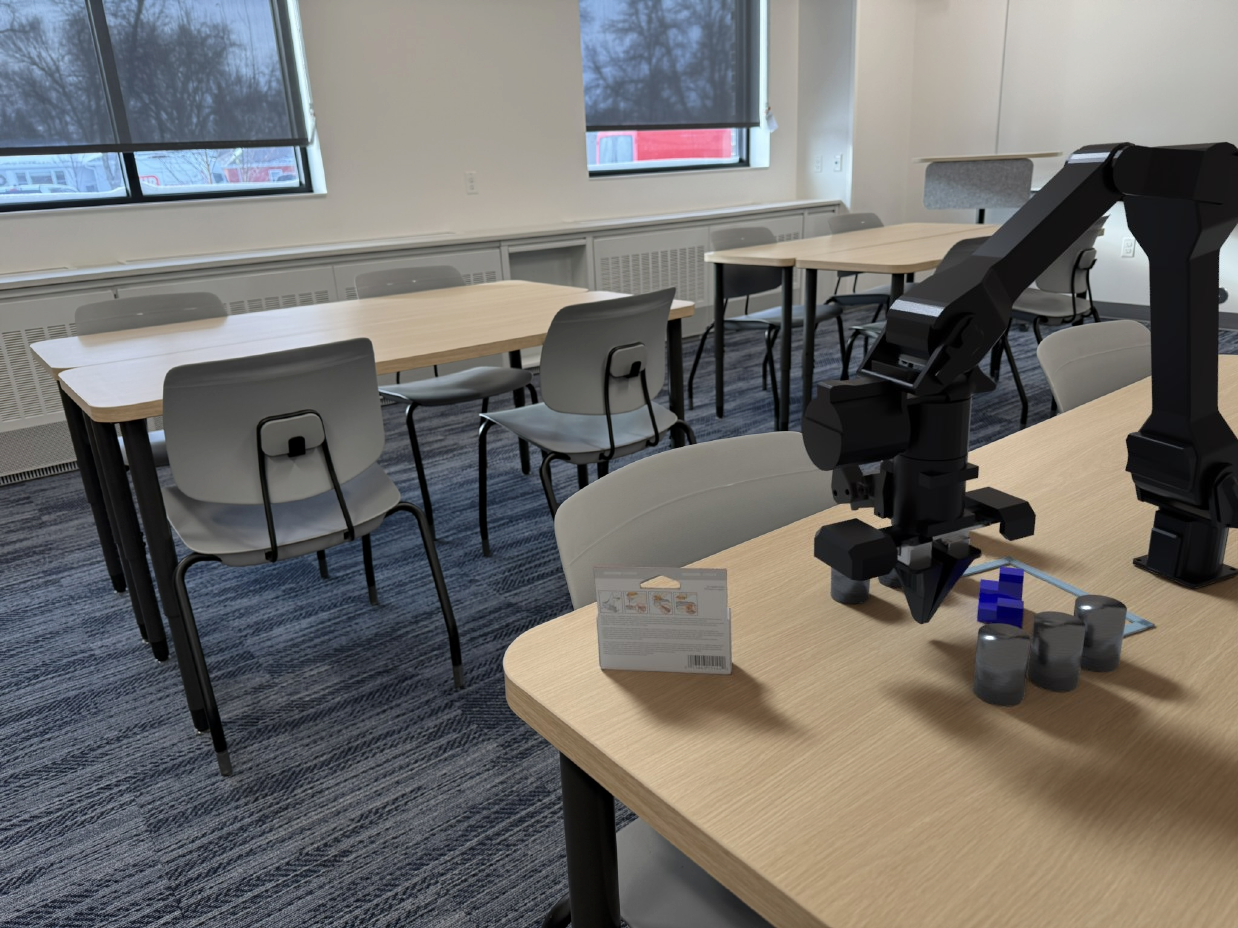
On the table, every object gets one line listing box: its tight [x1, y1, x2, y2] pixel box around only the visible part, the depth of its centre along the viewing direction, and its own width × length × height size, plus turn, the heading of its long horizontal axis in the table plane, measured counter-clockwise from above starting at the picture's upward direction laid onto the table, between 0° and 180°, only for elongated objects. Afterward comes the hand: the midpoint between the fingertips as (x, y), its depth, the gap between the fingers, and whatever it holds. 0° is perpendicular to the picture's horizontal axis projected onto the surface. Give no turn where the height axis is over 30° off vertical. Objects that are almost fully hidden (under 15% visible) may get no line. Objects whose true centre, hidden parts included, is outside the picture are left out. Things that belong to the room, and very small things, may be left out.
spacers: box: [830, 567, 1128, 707], centre depth 75 cm, size 14×23×5 cm, turn 22°
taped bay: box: [960, 556, 1155, 637], centre depth 79 cm, size 8×16×1 cm, turn 22°
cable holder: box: [976, 566, 1025, 630], centre depth 75 cm, size 8×4×4 cm, turn 156°
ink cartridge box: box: [592, 566, 733, 675], centre depth 71 cm, size 2×11×10 cm, turn 80°
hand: (921, 621), depth 74 cm, fingers closed
